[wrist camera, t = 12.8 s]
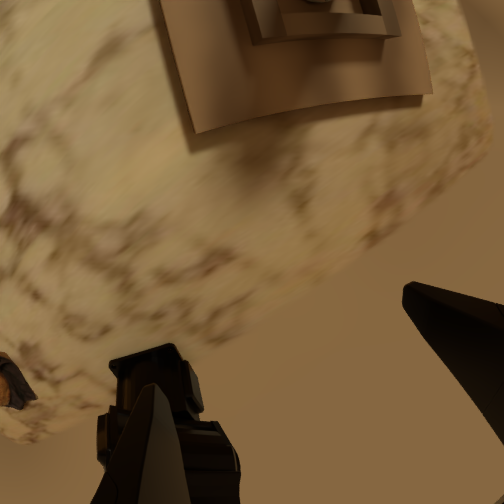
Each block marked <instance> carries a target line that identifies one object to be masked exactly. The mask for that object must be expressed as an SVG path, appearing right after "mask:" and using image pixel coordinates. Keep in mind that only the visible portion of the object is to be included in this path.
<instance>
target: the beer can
mask: <svg viewBox="0 0 504 504" xmlns="http://www.w3.org/2000/svg"><path fill="white" fill-rule="evenodd" d="M308 1H311V2H320V3H322V2H328V1H331V0H308Z"/></svg>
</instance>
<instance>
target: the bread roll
mask: <svg viewBox="0 0 504 504" xmlns="http://www.w3.org/2000/svg"><path fill="white" fill-rule="evenodd" d="M36 399H38V397H37V396H36V394H35V393H34V391H33V390H32V389H31V388H30V386H29V385H28V383H27V382H26V380H25V379H24V377H23V375H22V373H21V371H20V370H19V368H18V367H17V366H16V365H15V364H14V362H13V361H12V360H11V359H10V357H9V356H8V355H7V354H6V353H5V352H0V406H6V407H12V408H15V409H17V410H22V409H23V406H24V403H25V402H26V401H31V400H36Z"/></svg>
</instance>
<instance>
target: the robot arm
mask: <svg viewBox="0 0 504 504" xmlns="http://www.w3.org/2000/svg"><path fill="white" fill-rule="evenodd" d="M402 305H403V308H404V310H405V311H406V313H407V314H408V316H409V317H410V319H411V320H412V322H413V323H414V324H415V326H416V327H417V329H418V330H419V332H420V334H421V335H422V336H423V338H424V339H425V340H426V341H427V343H428V344H429V345H430V346H431V348H432V349H433V350H434V351H435V353H436V354H437V355H438V356H439V358H440V359H441V360H442V361H443V363H444V364H445V365H446V366H447V367H448V369H449V370H450V372H451V373H452V374H453V375H454V377H455V378H456V379H457V380H458V382H459V383H460V384H461V386H462V387H463V388H464V390H465V391H466V392H467V394H468V395H469V396H470V398H471V399H472V400H473V402H474V403H475V405H476V406H477V407H478V409H479V410H480V411H481V413H483V416H484V417H485V419H486V420H487V422H488V423H489V424H490V426H491V427H492V429H493V430H494V432H495V433H496V435H497V436H498V438H499V439H500V441H501V442H502V444H503V445H504V305H502V304H498V303H494V302H490V301H487V300H483V299H479V298H476V297H472V296H468V295H464V294H461V293H457V292H453V291H449V290H445V289H441V288H438V287H434V286H430V285H426V284H422V283H418V282H415V281H412V282H410V283H408V284H406V285H405V286H404V288H403V297H402ZM170 348H171V350H169V349H170ZM113 365H115V366H113ZM109 369H110V370H111V371H112V372H113V374H114V375H115V376H116V378H117V393H116V406H112V405H110V406H109V411H108V413H106V414H104V415H100V416H98V420H97V460H98V461H99V462H100V463H101V464H102V466H103V467H104V472H105V473H104V475H103V478H102V480H101V482H100V485H99V487H98V489H97V491H96V493H95V495H94V497H93V499H92V501H91V503H90V504H240V497H239V484H240V478H241V471H240V462H239V458H238V455H237V453H236V451H235V449H234V448H233V446H232V444H231V443H230V441H229V439H228V438H227V436H226V434H225V433H224V431H223V429H222V428H221V426H220V424H219V423H218V421H210V422H207V421H200V418H199V413H202V412H203V411H204V406H203V401H202V397H201V392H200V388H199V382H198V377H197V376H196V374H195V372H194V371H193V369H192V367H191V365H190V364H189V362H188V361H186V360H183V358H182V357H181V355H180V353H179V351H178V350H177V348H176V346H175V345H174V344H172V343H167V344H164V345H161V346H158V347H155V348H151V349H148V350H145V351H141V352H138V353H135V354H131V355H128V356H124V357H121V358H118V359H114V360H111V361H110V362H109ZM495 504H504V495H503V496H502V497H501V498H500V499H499V500H498V501H497V502H496V503H495Z"/></svg>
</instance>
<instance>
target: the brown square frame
mask: <svg viewBox="0 0 504 504" xmlns="http://www.w3.org/2000/svg"><path fill="white" fill-rule="evenodd" d="M159 2H160V6H161V10H162V14H163V18H164V22H165V25H166V29H167V33H168V37H169V41H170V45H171V49H172V52H173V56H174V60H175V64H176V68H177V71H178V75H179V79H180V82H181V86H182V90H183V93H184V97H185V101H186V104H187V108H188V112H189V115H190V119H191V122H192V126H193V129H194V133H195V134H198V133H201V132H205V131H208V130H211V129H215V128H219V127H222V126H226V125H230V124H233V123H237V122H241V121H245V120H249V119H254V118H258V117H262V116H267V115H271V114H276V113H280V112H285V111H290V110H295V109H301V108H306V107H312V106H318V105H324V104H330V103H337V102H344V101H352V100H360V99H368V98H378V97H389V96H403V95H420V94H433V89H432V83H431V77H430V71H429V66H428V60H427V56H426V51H425V46H424V42H423V38H422V34H421V30H420V26H419V22H418V19H417V15H416V12H415V9H414V5H413V2H412V0H331V1H328V2H322V3H320V2H311V1H308V0H159Z"/></svg>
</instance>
